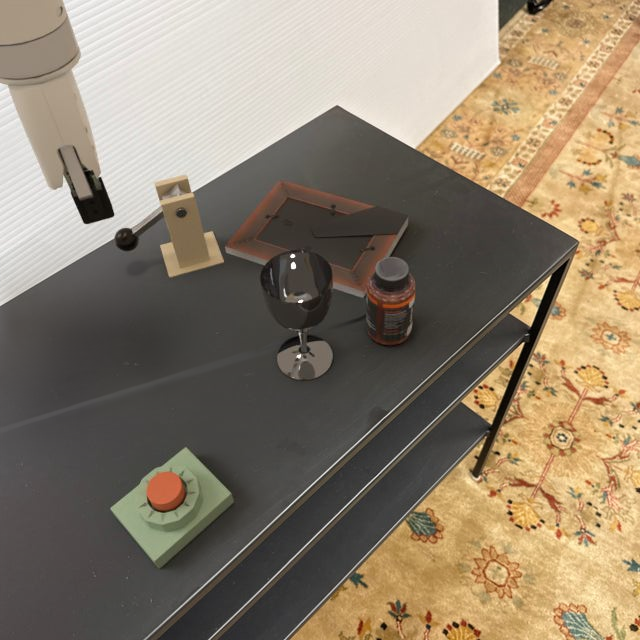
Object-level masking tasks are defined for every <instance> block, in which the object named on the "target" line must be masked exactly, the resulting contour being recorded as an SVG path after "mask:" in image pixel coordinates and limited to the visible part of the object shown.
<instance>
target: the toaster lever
mask: <svg viewBox="0 0 640 640" xmlns="http://www.w3.org/2000/svg"><path fill="white" fill-rule="evenodd" d="M184 194H187V192H186V191H185V190H184V189H183V188H181V187H180V186H179V185H178V184H177V185H175V186H174V187H173V188H172V189H170V190H169V191H168V192H167V193H165V194H164V195H163V196H162V199H163V200H164V199H168V198H172V197H176V196H180V195H184ZM163 218H165V217H164V213H163V210H162V207H161V205H160V206H159V207H158V208H156V209H155V210H154V211H152V212H151V213H150V214H148V215H147V216H146V217H145V218H143V219H142V220H141V221H140V222H138V223H137V224H136V225H135V226H133V227H132V228H131V227H122V228H120V229H118V230H117V231H116V232H115V235H114V238H113V239H114V240H113V241H114V244H115V246H116V248H117V249H119V250H120V251H122V252H131V251H134V250H136V248H137V247H138V246H139V242H140V236H142V235H143V234H145V233H146V232H147V231H148V230H150V229H151V228H152V227H153V226H155V225H156V224H157V223H158V222H159V221H161V220H163Z"/></svg>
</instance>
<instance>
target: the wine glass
mask: <svg viewBox="0 0 640 640" xmlns="http://www.w3.org/2000/svg"><path fill="white" fill-rule="evenodd" d="M259 278H260V279H259V280H260V288H261V292H262V296H263V300H264V303H265V306H266V308H267V310H268V313H269V314H270V315H271V318H273V320H274V321H275V322H276V323H277V324H278V325H279V326H281V327H282V328H284V329H286V330H289V331H293V332H296V334H297V336H294V337H291V338H289V339H288V340H286V341H285V342H284V343H283V344H282V345H281V346H280V348H279V349H278V351H277V356H276V363H277V366H278V368H279V370H280V371H281V373H283V374H284V375H285V376H287V377H288V378H290V379H292V380H296V381H311V380H315V379H318V378H320V377H322V376H323V375H324V374H325V373H327V372H328V371H329V369H330V368H331V366H332V365H333V361H334V353H333V350H332V348H331V346H330V344H329V343H328V342H327V341H325V339H322V338H320V337H318V336H316V335H311V334H308V331H309V330H312V329H314V328H316V327H317V326H318V325H320V324H321V323H322V322H323V321H324V320H325V319H326V317H327V315H328V313H329V310H330V307H331V305H332V300H333V294H334V288H333V274H332V269H331V266H330V264H329V263H328V262H327V261H326V260H325V259H324V258H323V257H322V256H320V255H318V254H316V253H313V252H310V251H305V250H293V251H287V252H284V253H281V254H279V255H277V256H275V257H273V258H272V259H270V260H269V261H268V262H267V263H266V264H265V266H264V265H263V267H262V269H261V272H260V275H259Z"/></svg>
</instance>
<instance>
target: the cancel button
mask: <svg viewBox="0 0 640 640" xmlns="http://www.w3.org/2000/svg"><path fill="white" fill-rule="evenodd" d="M146 493H147V496H148V498H149V500H150V502H151V504H152V505H153V506H154V507H155V508H156V509H158V510H160V511H170V510H173V509H175V508H176V507H178V506H179V505H180V504H181V502H182V501H183V499H184V496H185V488H184V485H183V483H182V481H181V479H180V477H179V476H178V475H177V474H175V473H173V472H161V473H159V474H157V475H155V476H154V477H153V478H152V479H151V480H150V481H149V483H148V485H147V490H146Z"/></svg>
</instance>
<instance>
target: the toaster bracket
mask: <svg viewBox="0 0 640 640" xmlns="http://www.w3.org/2000/svg"><path fill="white" fill-rule="evenodd" d="M153 184H154V187H155V190H156V193H157V197H158V200H159V203H160V206H161V207H162V210H163V213H164V217H163V218H164V220H165V224H166V227H167V230H168V233H169V237H170V242H167V243H163V244H160V245H159V247H160V250H161V254H162V257H163V261H164V264H165V268H166V272H167V274H168V278H169V279H171V278H175V277H179V276H182V275H186V274H189V273H192V272H196V271H199V270H203V269H207V268H210V267H213V266H217V265H221V264H225V260H224V257H223V254H222V251H221V249H220V246H219V243H218V241H217V238H216V236H215V233H214V231H213V230H211V231H208V232H204V228H203V225H202V220H201V216H200V213H199V209H198V205H197V201H196V197H195V193H194V192H193V191H192V188H191V185H190V181H189V178H188V175H187V174H183V175H178V176H174V177H170V178H167V179H162V180H159V181H154V182H153ZM177 184H178V185H179V186H180V187H181V188H183V189H184V190H185V191H186V192H187V194H184V195H180V196H176V197H172V198H168V199H164V200H163V199H162V196H163V195H164V194H165V193H167V192H168V191H169V190H170V189H172V188H173V187H174V186H175V185H177Z"/></svg>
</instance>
